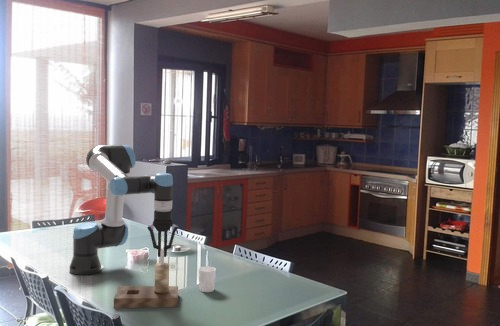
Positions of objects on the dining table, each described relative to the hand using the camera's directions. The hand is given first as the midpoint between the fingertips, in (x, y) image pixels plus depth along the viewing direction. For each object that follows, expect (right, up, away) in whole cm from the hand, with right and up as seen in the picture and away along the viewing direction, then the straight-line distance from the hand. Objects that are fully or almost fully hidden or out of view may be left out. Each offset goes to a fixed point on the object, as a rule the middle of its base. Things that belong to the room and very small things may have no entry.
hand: (162, 264), depth 212 cm
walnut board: (-7, -16, +1) cm, 17 cm away
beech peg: (-1, -16, +2) cm, 16 cm away
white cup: (+18, -16, +17) cm, 29 cm away
